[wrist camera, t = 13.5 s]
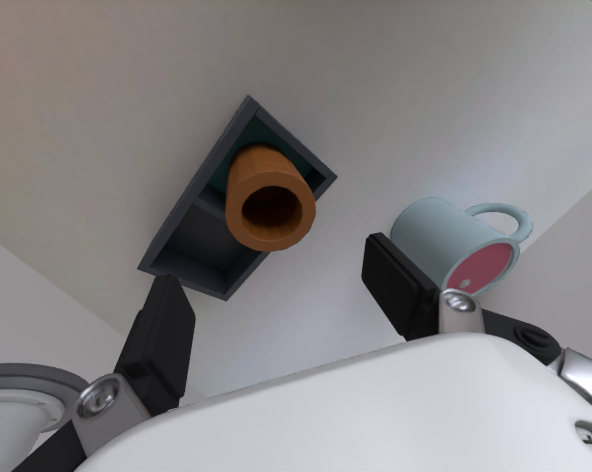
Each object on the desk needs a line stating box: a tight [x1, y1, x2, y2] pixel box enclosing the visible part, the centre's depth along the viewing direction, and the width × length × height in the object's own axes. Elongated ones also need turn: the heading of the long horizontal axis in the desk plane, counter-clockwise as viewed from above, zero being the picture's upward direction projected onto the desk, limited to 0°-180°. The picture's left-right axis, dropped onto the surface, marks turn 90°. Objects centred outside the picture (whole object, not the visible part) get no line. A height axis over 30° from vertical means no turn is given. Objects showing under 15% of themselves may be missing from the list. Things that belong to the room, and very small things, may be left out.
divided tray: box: [137, 95, 338, 301], centre depth 23 cm, size 10×18×5 cm, turn 139°
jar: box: [225, 141, 316, 252], centre depth 19 cm, size 6×6×9 cm
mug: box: [391, 197, 533, 298], centre depth 29 cm, size 14×9×10 cm
